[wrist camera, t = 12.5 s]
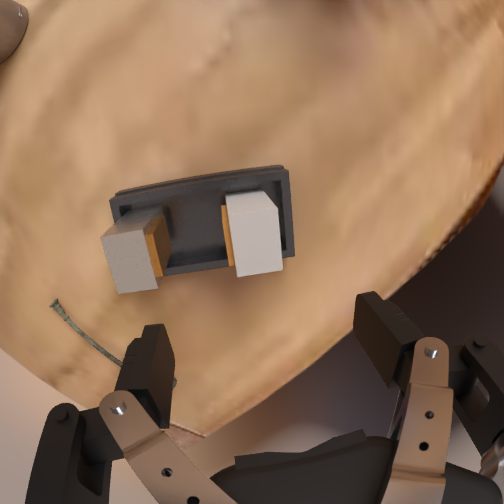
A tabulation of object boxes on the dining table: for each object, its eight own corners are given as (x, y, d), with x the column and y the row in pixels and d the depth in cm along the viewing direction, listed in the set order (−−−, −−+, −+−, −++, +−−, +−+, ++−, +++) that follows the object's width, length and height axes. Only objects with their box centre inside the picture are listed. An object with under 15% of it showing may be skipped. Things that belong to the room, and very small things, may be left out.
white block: (261, 188, 28) (277, 208, 21) (266, 236, 30) (282, 269, 23) (220, 194, 28) (221, 216, 21) (227, 242, 30) (231, 278, 23)
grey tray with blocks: (138, 267, 32) (115, 314, 23) (119, 190, 28) (83, 215, 19) (287, 245, 33) (312, 286, 24) (280, 164, 29) (307, 178, 21)
